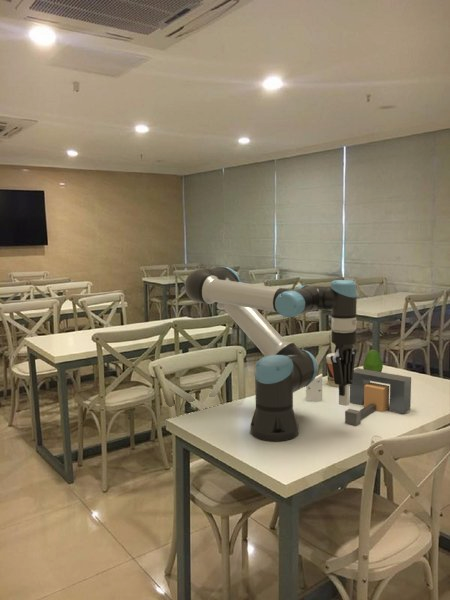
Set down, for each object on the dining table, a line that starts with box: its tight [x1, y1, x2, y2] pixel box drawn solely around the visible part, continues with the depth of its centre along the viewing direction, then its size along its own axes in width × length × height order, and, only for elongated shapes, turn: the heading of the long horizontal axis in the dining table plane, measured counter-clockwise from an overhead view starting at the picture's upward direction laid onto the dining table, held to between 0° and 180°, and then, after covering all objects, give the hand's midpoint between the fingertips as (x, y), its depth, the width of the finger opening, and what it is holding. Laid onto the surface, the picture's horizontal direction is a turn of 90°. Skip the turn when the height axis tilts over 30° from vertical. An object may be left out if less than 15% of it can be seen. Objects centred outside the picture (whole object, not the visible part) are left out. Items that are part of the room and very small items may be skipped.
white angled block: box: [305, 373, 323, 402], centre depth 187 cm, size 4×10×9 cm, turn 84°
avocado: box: [362, 349, 384, 372], centre depth 214 cm, size 8×8×12 cm
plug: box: [344, 381, 390, 427], centre depth 171 cm, size 22×7×8 cm, turn 139°
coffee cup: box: [325, 352, 339, 388], centre depth 205 cm, size 9×9×12 cm
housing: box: [349, 367, 412, 415], centre depth 179 cm, size 6×20×12 cm, turn 49°
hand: (343, 404), depth 157 cm, fingers closed
